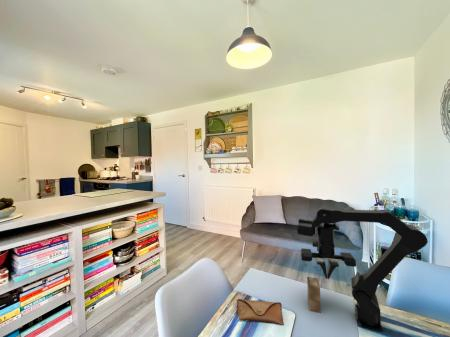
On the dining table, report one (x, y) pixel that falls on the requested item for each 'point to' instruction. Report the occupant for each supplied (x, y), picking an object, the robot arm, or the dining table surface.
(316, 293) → the walnut block
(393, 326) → the dining table surface
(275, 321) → the sunglasses case
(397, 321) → the dining table surface
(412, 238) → the robot arm
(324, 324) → the dining table surface
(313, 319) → the dining table surface
